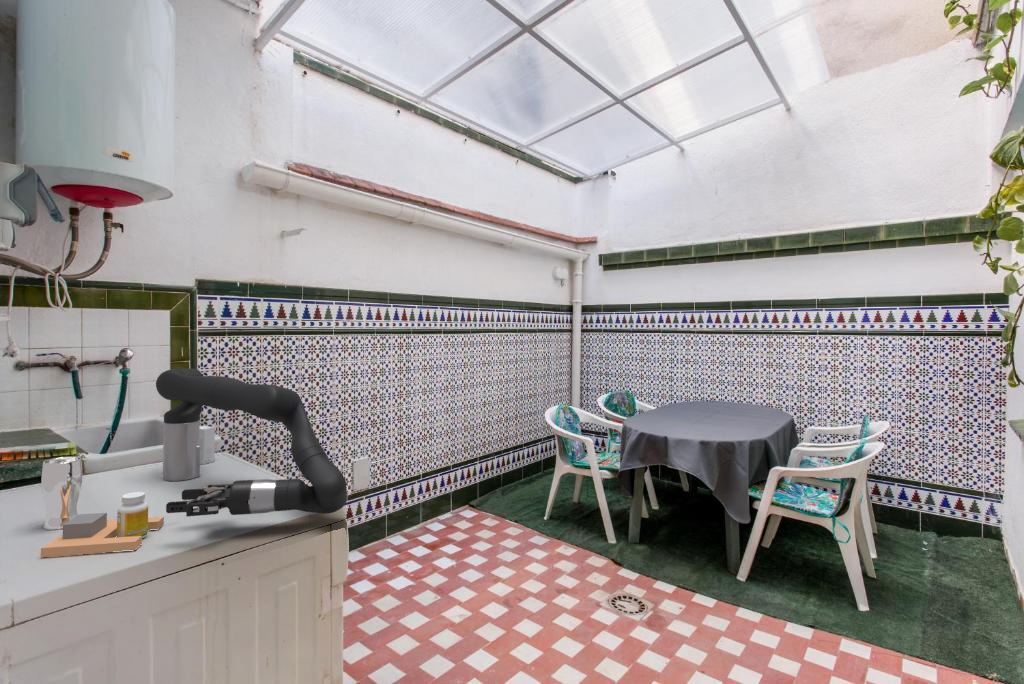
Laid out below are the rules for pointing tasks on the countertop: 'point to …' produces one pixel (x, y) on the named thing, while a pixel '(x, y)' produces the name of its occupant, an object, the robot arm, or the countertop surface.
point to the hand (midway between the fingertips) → (174, 501)
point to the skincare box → (207, 444)
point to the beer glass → (61, 490)
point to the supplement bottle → (132, 516)
